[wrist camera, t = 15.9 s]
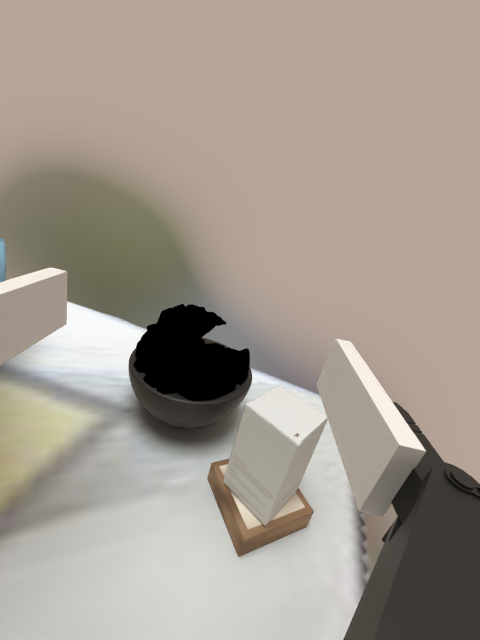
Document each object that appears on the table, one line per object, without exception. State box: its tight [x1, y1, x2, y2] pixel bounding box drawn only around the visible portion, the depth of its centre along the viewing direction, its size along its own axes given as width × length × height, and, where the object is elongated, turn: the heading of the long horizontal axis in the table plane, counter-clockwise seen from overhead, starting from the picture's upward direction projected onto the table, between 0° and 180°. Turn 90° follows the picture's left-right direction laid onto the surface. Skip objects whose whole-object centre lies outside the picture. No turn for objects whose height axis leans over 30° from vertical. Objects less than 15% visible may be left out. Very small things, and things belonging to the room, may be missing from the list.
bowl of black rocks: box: [129, 304, 252, 428], centre depth 47 cm, size 20×20×19 cm
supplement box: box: [223, 385, 328, 526], centre depth 35 cm, size 7×7×13 cm
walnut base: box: [208, 459, 314, 557], centre depth 38 cm, size 10×10×3 cm
